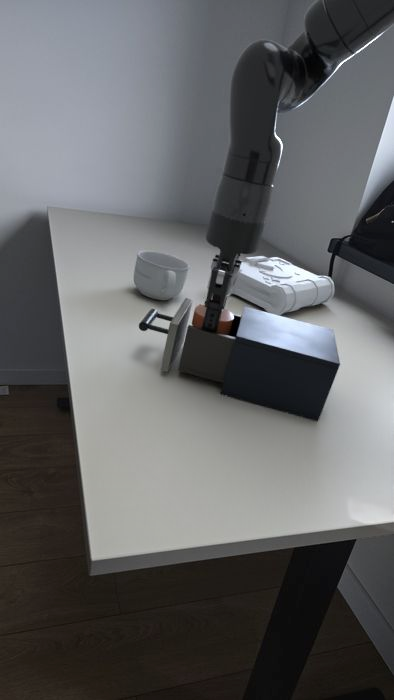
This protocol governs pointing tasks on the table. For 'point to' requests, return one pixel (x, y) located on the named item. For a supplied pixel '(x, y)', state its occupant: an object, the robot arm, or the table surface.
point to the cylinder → (224, 321)
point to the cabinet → (282, 364)
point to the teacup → (159, 274)
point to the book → (280, 285)
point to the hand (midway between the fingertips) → (212, 323)
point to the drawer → (194, 344)
